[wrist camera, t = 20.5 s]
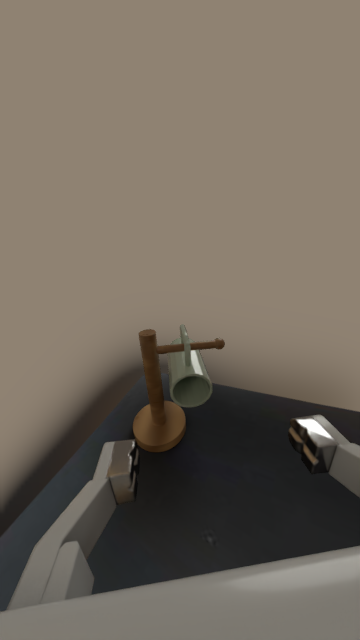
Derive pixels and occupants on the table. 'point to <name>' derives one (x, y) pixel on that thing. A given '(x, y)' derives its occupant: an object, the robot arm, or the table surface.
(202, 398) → the cup
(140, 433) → the mug stand
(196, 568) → the table surface
